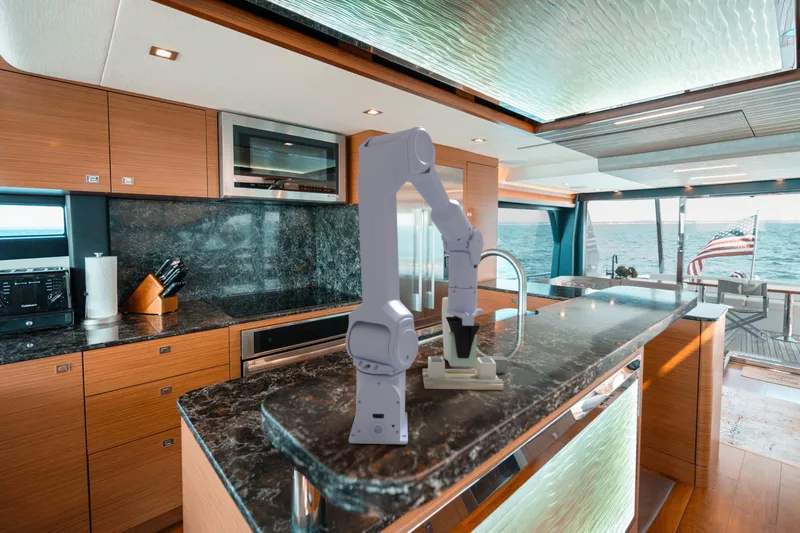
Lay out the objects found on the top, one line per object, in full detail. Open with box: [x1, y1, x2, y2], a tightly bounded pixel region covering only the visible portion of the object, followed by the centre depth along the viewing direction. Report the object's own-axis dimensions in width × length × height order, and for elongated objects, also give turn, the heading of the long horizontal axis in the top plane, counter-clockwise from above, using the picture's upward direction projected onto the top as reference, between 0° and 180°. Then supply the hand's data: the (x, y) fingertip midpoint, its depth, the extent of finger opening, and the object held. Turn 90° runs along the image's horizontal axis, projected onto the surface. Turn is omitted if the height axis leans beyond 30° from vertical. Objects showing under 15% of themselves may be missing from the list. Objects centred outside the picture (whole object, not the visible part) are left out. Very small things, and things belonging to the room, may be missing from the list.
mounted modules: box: [427, 356, 497, 379], centre depth 76 cm, size 4×13×4 cm, turn 90°
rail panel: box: [421, 371, 505, 391], centre depth 76 cm, size 8×15×1 cm, turn 90°
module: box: [448, 332, 478, 368], centre depth 75 cm, size 4×5×6 cm
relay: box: [485, 355, 508, 374], centre depth 84 cm, size 3×4×3 cm
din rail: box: [422, 368, 504, 383], centre depth 76 cm, size 6×15×1 cm, turn 90°
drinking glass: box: [441, 296, 454, 361], centre depth 91 cm, size 7×7×15 cm
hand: (461, 354), depth 75 cm, fingers closed on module, 4 cm apart
